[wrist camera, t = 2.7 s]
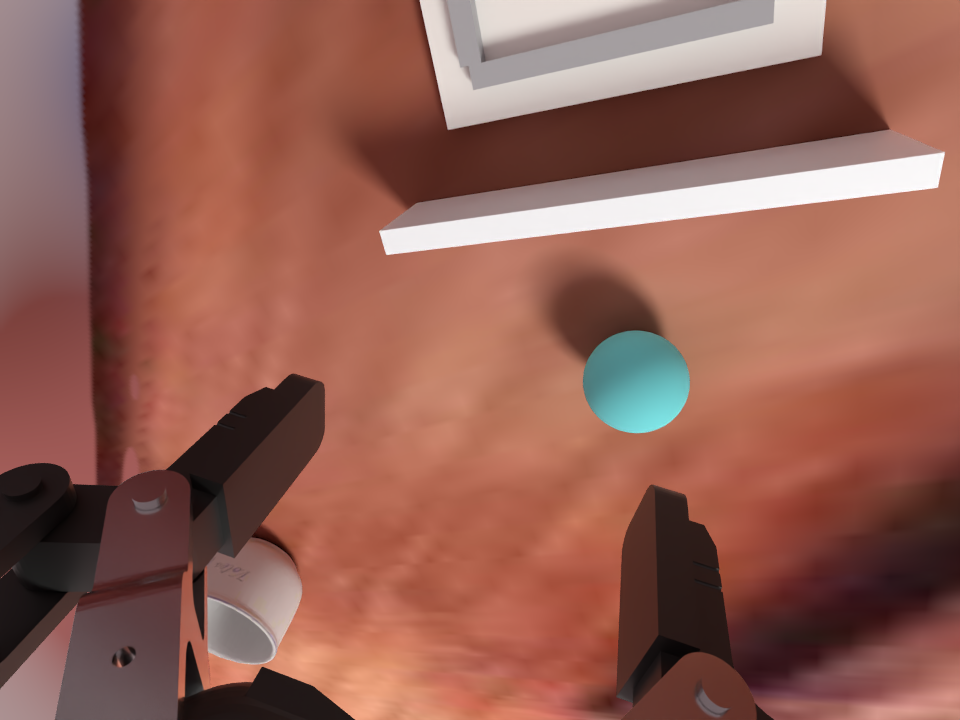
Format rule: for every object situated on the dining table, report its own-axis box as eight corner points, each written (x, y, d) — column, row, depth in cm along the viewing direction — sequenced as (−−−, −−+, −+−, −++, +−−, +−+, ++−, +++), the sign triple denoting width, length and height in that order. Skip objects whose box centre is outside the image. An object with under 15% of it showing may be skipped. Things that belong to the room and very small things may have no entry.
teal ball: (706, 336, 29) (716, 393, 25) (657, 407, 32) (658, 469, 28) (612, 298, 29) (606, 346, 25) (573, 372, 32) (560, 428, 28)
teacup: (273, 513, 49) (215, 588, 42) (338, 590, 53) (294, 670, 46) (182, 533, 55) (119, 601, 49) (246, 600, 59) (196, 672, 52)
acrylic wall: (890, 129, 22) (944, 152, 18) (886, 159, 23) (937, 187, 19) (416, 202, 29) (379, 231, 25) (422, 224, 30) (386, 254, 26)
